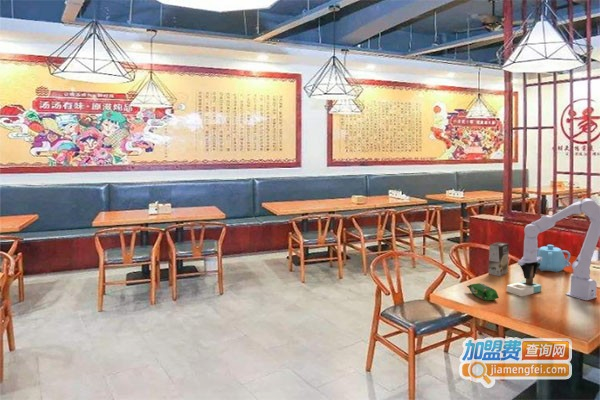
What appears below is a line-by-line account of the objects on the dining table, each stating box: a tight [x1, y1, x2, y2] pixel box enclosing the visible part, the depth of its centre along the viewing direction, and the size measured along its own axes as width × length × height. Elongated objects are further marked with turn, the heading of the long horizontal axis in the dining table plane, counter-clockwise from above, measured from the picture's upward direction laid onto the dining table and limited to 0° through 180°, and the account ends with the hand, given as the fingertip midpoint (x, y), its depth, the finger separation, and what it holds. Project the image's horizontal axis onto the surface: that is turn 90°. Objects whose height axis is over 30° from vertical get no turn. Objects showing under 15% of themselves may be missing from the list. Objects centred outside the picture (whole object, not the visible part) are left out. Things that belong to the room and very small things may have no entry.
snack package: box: [466, 282, 499, 301], centre depth 205 cm, size 7×16×5 cm, turn 11°
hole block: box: [506, 280, 542, 297], centre depth 210 cm, size 8×14×3 cm, turn 117°
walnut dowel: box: [525, 265, 534, 285], centre depth 211 cm, size 3×3×9 cm
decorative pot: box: [537, 244, 572, 273], centre depth 242 cm, size 16×16×14 cm
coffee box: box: [488, 241, 510, 277], centre depth 238 cm, size 9×6×16 cm
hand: (529, 277), depth 211 cm, fingers closed on walnut dowel, 3 cm apart
